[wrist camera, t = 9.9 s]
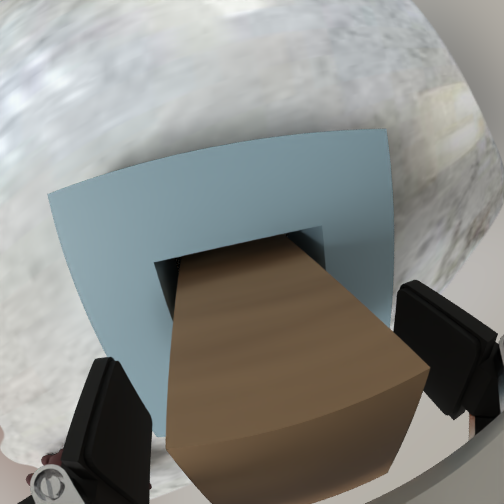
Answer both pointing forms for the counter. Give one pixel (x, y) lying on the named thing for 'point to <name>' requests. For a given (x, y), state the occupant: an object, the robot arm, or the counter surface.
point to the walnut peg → (282, 379)
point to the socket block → (222, 232)
